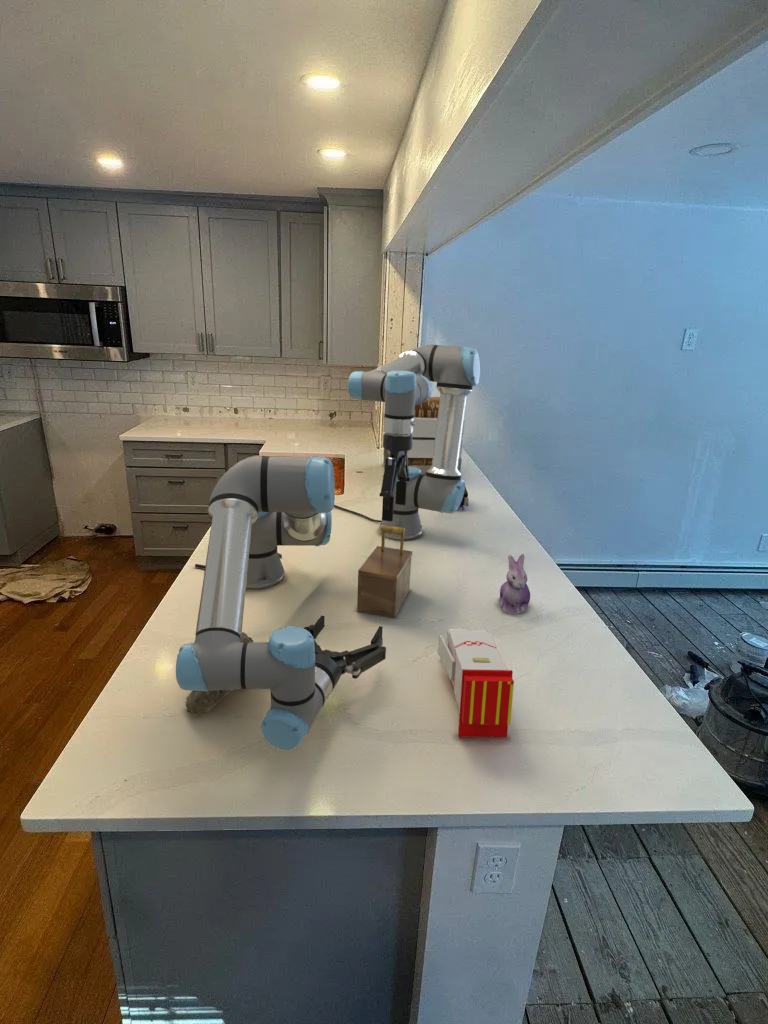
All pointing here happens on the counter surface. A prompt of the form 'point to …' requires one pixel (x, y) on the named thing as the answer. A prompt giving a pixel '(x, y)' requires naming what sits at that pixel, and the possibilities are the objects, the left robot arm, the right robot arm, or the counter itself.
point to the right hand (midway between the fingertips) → (394, 512)
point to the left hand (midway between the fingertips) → (351, 626)
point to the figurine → (515, 588)
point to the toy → (478, 682)
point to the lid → (387, 558)
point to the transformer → (425, 434)
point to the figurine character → (464, 499)
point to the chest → (383, 593)
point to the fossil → (209, 693)
